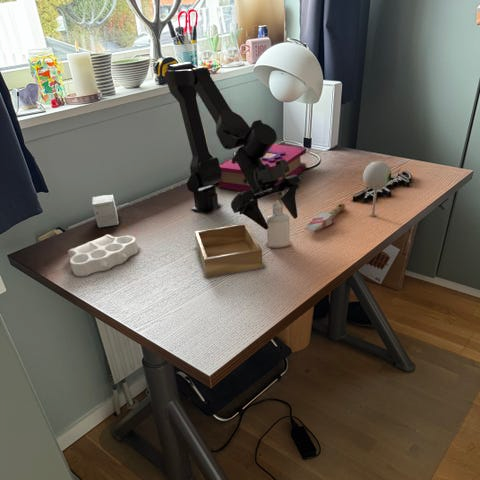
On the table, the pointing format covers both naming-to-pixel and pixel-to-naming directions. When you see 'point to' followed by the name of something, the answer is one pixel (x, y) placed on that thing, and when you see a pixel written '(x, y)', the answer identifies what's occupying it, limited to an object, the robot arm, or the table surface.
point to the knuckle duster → (101, 254)
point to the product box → (105, 210)
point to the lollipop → (376, 178)
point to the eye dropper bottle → (278, 227)
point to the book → (235, 177)
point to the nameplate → (394, 182)
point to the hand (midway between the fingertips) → (282, 223)
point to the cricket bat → (323, 218)
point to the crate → (228, 250)
